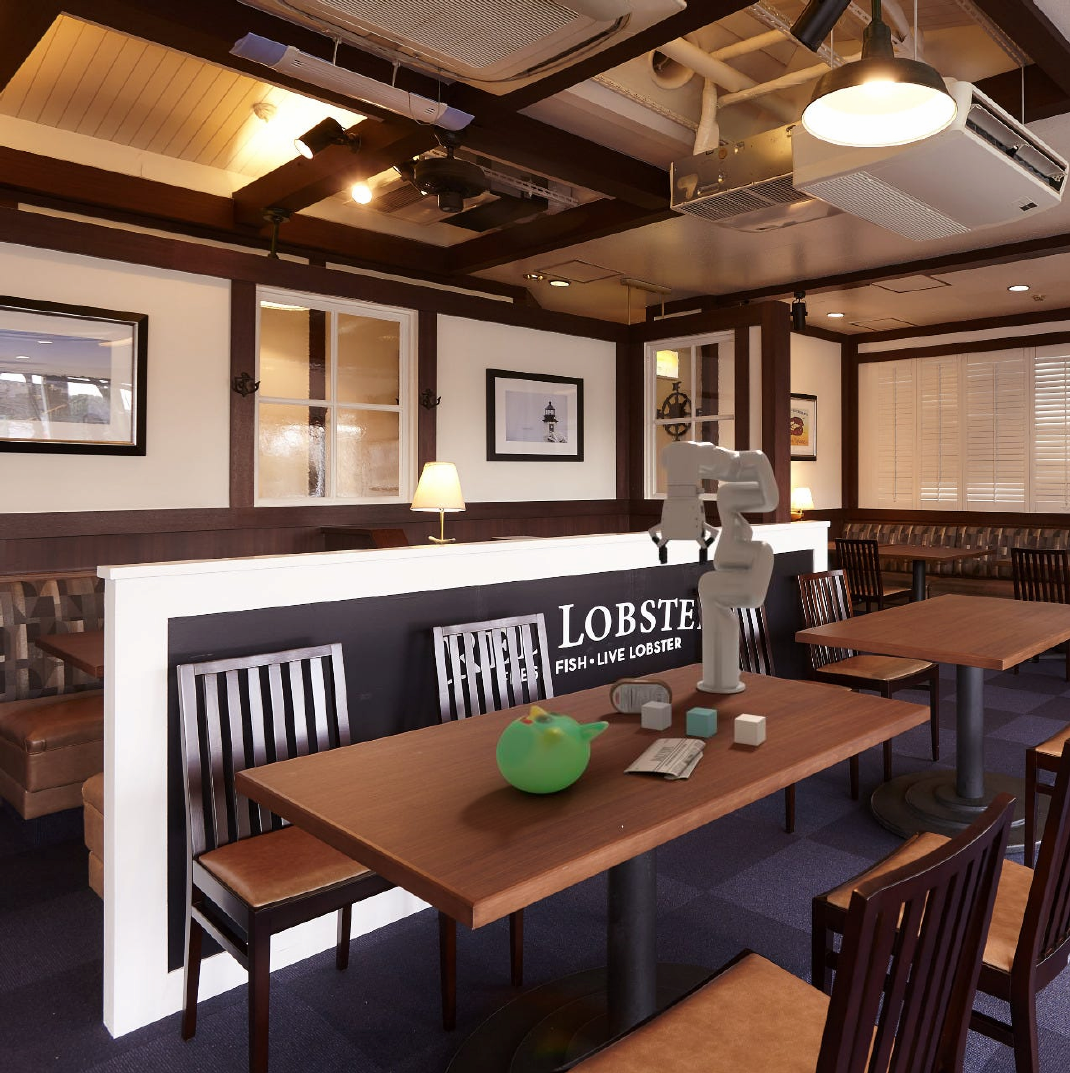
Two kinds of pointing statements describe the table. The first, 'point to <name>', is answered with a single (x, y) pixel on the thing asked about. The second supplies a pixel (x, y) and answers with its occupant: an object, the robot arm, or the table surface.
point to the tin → (638, 694)
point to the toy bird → (545, 750)
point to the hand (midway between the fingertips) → (682, 564)
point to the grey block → (656, 715)
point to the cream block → (750, 729)
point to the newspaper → (670, 757)
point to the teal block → (701, 722)
